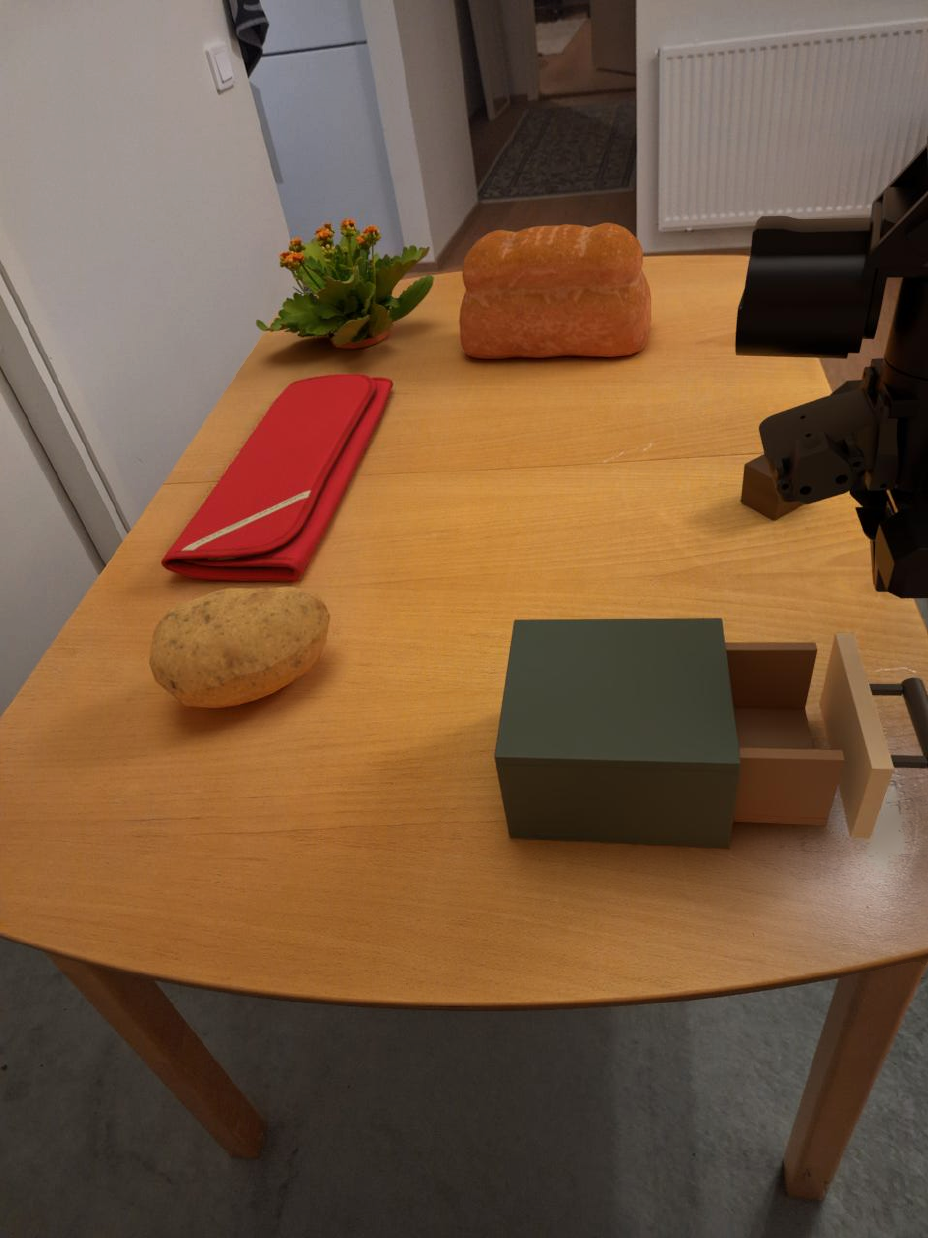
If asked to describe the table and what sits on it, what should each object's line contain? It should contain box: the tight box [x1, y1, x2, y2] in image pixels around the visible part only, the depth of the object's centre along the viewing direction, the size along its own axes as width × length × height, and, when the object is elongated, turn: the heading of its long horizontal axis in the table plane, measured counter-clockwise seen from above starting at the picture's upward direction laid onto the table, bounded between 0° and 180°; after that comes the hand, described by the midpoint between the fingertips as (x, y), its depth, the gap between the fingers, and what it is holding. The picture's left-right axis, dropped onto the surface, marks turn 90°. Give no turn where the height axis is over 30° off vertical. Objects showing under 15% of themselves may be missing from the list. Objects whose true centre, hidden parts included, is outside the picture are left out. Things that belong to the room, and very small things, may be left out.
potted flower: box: [255, 218, 435, 350], centre depth 120 cm, size 25×24×18 cm
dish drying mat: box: [160, 373, 394, 583], centre depth 96 cm, size 16×41×4 cm, turn 171°
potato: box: [148, 586, 331, 709], centre depth 68 cm, size 10×14×10 cm
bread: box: [458, 222, 652, 360], centre depth 109 cm, size 14×26×15 cm, turn 75°
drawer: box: [725, 632, 928, 840], centre depth 54 cm, size 18×11×7 cm, turn 82°
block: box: [740, 453, 805, 521], centre depth 78 cm, size 4×4×4 cm
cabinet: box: [493, 617, 741, 850], centre depth 56 cm, size 15×13×9 cm
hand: (883, 588), depth 52 cm, fingers closed
